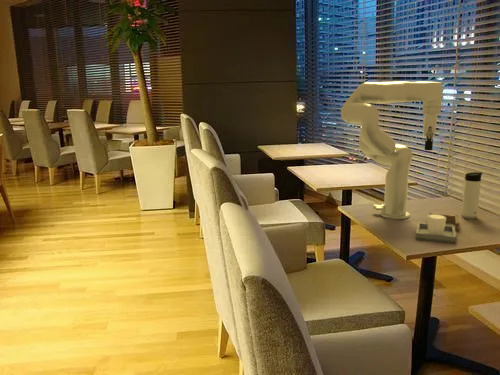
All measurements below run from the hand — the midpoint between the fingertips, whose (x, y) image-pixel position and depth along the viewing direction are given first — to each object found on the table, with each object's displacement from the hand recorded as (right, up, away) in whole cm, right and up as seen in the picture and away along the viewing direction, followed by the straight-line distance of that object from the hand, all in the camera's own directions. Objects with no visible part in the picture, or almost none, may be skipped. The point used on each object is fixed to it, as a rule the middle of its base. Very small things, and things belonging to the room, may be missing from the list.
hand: (428, 148), depth 216 cm
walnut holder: (-1, -33, -18) cm, 38 cm away
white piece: (-9, -36, -31) cm, 48 cm away
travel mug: (+15, -31, -7) cm, 35 cm away
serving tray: (-9, -36, -31) cm, 48 cm away
